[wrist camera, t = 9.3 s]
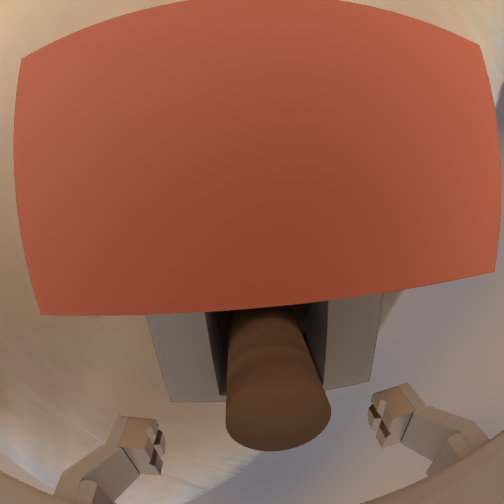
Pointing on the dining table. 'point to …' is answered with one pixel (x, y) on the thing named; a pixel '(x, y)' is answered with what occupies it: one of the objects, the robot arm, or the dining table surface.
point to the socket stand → (254, 173)
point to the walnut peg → (272, 382)
